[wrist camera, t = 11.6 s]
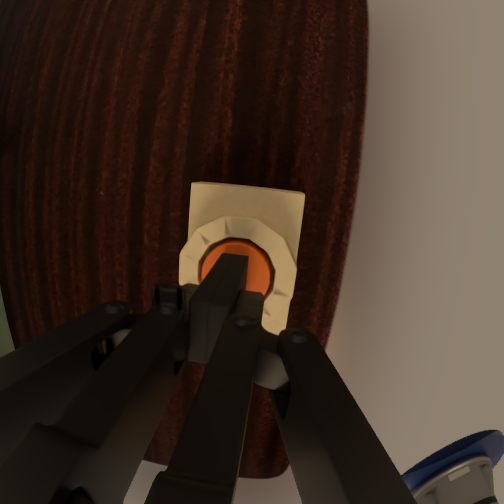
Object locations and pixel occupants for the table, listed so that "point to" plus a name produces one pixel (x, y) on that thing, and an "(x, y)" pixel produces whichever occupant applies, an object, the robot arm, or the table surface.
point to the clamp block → (4, 331)
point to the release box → (247, 236)
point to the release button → (256, 264)
